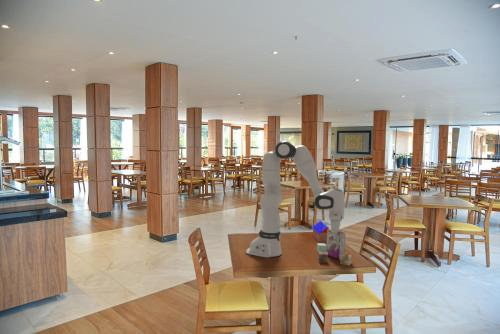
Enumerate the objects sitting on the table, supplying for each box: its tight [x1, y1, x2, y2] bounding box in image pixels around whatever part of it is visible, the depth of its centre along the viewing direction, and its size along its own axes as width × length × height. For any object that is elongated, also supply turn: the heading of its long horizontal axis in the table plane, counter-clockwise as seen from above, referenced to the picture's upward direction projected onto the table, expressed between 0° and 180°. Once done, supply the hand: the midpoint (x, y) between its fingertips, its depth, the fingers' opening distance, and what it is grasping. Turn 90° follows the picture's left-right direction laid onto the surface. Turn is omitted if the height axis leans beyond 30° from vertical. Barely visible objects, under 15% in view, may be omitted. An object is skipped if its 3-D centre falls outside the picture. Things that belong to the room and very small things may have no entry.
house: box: [312, 220, 330, 243], centre depth 251 cm, size 12×20×12 cm, turn 3°
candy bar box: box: [326, 228, 346, 261], centre depth 210 cm, size 11×5×16 cm, turn 32°
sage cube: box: [316, 242, 327, 254], centre depth 220 cm, size 5×5×5 cm
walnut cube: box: [318, 252, 329, 264], centre depth 202 cm, size 5×5×5 cm
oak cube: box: [339, 253, 353, 267], centre depth 198 cm, size 5×5×5 cm
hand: (335, 237), depth 210 cm, fingers open, 8 cm apart
